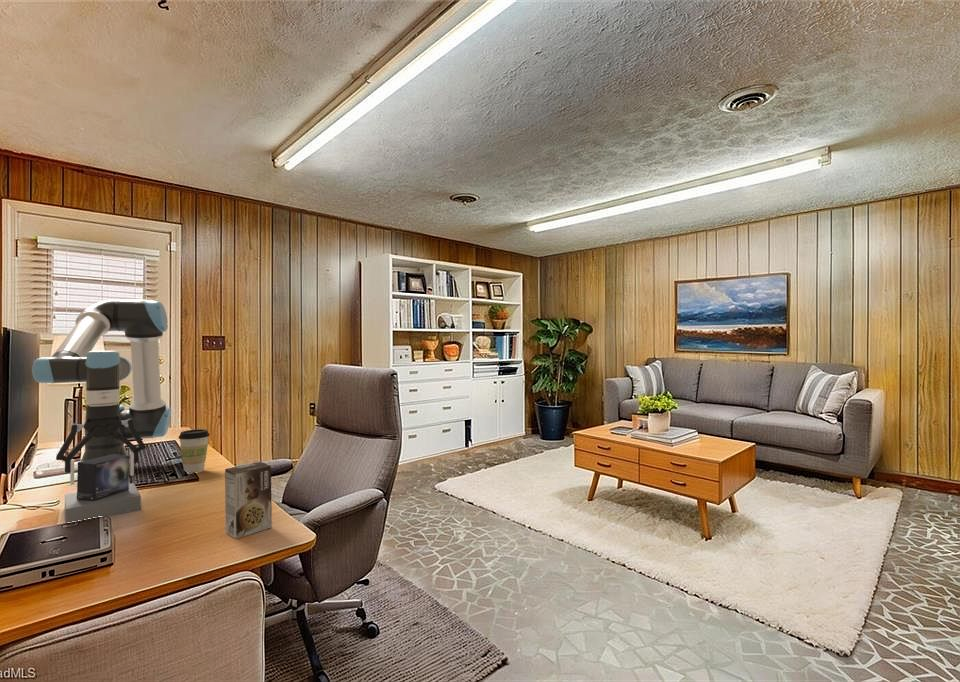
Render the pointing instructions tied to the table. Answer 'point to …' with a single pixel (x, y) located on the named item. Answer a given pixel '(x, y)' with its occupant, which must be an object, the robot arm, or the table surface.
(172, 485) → the table surface
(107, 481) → the small box
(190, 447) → the coffee cup
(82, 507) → the plinth
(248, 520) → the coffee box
